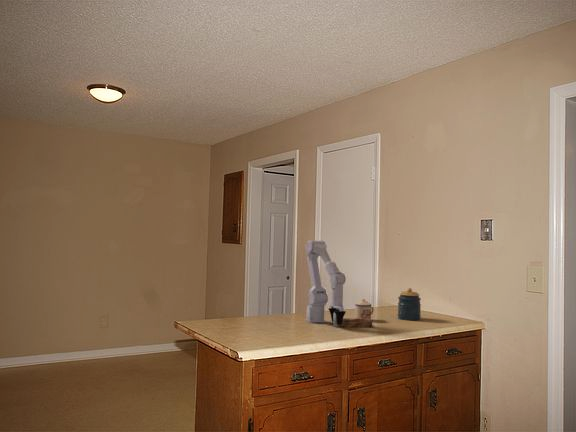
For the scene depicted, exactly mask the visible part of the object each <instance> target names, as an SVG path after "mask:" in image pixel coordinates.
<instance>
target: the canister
mask: <svg viewBox="0 0 576 432" xmlns="http://www.w3.org/2000/svg"><path fill="white" fill-rule="evenodd" d="M397 299H398V303H397V318H398V319H399V320H405V321H419V320H421V316H422V315H421V307H422V304H421V300H422V298H421V297H420V294H419V293H418V292H417V291H413V289H412V288H411V287H408V288H407V291H405V290H404V291H401V292H400V293H399V296H398V297H397Z"/></svg>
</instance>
